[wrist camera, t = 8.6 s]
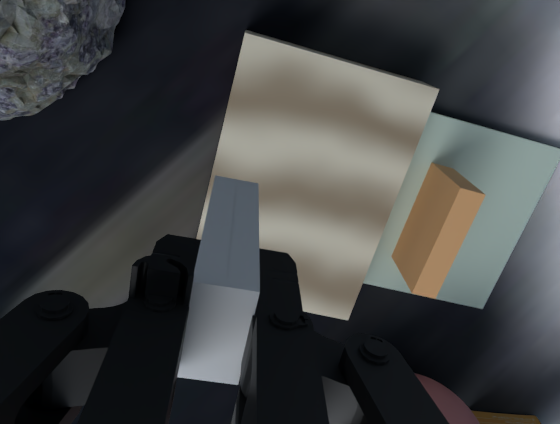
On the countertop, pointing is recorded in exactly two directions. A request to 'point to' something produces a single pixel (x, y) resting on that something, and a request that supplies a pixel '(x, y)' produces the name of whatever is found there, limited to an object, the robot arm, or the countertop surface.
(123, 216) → the countertop surface
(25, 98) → the mineral rock
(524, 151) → the mat
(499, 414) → the small box
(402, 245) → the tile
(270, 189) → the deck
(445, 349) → the countertop surface
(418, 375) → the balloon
